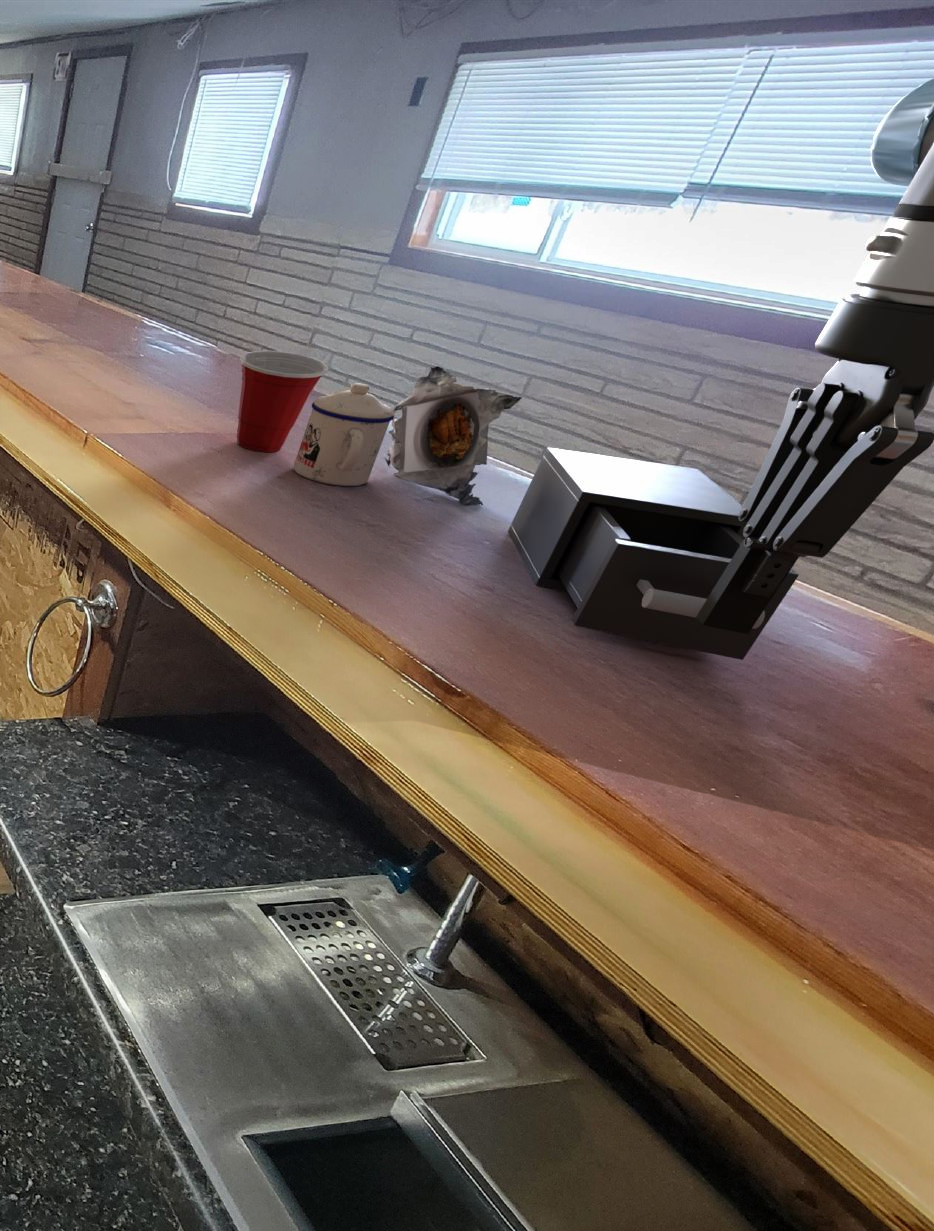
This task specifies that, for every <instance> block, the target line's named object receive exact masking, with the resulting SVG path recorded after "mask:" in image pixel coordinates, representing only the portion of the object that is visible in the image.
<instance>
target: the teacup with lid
mask: <svg viewBox="0 0 934 1231" xmlns="http://www.w3.org/2000/svg"><path fill="white" fill-rule="evenodd" d="M369 391H370V385H368V384H365V383H360V382H355V383H353V384H351V386H350V389H349V390H341V391H339V392H336V393H333V394H330V395H329V394H327V395H322V396H319V397H316V398H315V400H313V402H312V403H311V408H312V409H311V413H310V415H309V418H308V422H307V425H306V428H305V430H304V434H303V437H302V439H301V443H300V446H299V449H298V452H297V456H296V458H295V461H294V463H293V464H294V465H293V470H294V471H295V473H297V474H298V475H299V476H301V477H303V478H306V479H307V480H311V481H314V482H317V483H321V484H325V485H332V486H339V487H358V486H362V485H364V484H366V483H367V482H368V481H369V478H370V476H371V473H372V470H373V468H374V465H375V462H376V459H377V457H378V454H379V452H380V449H381V446H382V444H383V442H384V439H385V436H386V433H387V430H388V428H389V425H390V423H391V422H392V420H393V418H394V419H395V417H394V412H393V410H394V409H393V408H392V407H390V406H389V405H388V404H385V403H382V402H381V401H380V400H379V398H377V397H376V396H375V395H373V394H371V393H369Z"/></svg>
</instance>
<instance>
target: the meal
mask: <svg viewBox="0 0 934 1231" xmlns="http://www.w3.org/2000/svg"><path fill="white" fill-rule="evenodd" d="M457 382H458V380H457V376H456V375H453V374H451V373H450V372H449V371H446V369H445V368H443V367H441V366H439V365H438V366H431V367H430V370H429V373H428V375H427V376H420V377H419V378H418V379H417V381H416V383H415V384H414V389H413V391H412V393H411V394H410V395H409V396H408V397H407V398H404V399H402V400H401V401H400V402H399V403H398V404H396V405H395V406H394V408H393V409H392V410H393V412H394V418H393V420H391V427H392V429H391V430H388V434H389V435H390V439H391V440H392V443H391V444H390V446H389V449H388V451H387V453H386V447H384V449H383V458H384V460H385V462H386V464H387V466H388V468H394V469H396V471H397V472H394V473H393V476H396V477H398V478H400V479H402V480H405V481H407V482H410V483H412V484H415V485H419V486H421V487H425V488H427V487H428V488H431V489H436V490H438V491H441V492H443V493H444V494H445V495H447V496H450V497H452V498H455V499H457V500H458V503H459V505H462V506H477V505H480V504H481V505H480V506H484V504H483V502H482V501H481V499H480V497H478V496H474V494H473V492H472V491H473V489H474V488H475V486H476V485H477V484H476V483H472V484H470V483H471V482H472V481H473V480H474V479H475V478H476V477H477V476H478V474H479V473H480V471H478V472H477V471H475V467H476V466H481V465H488V446H489V445H488V444H489V436H488V435H489V431H490V430H489V426H490V424H491V423H492V422H493V421H495V420H497V419H500V417H501V414H502V413H503V412H505V410H511V409H512V408H513V407H514V406H515V405H516V404H517V403H519V402H520V401H521V400H522V398H523V396H516V395H511V394H507V393H503V392H499V391H497V390H496V389H492V388H475V387H474V386H467V385H461V384H459V383H457ZM396 411H401V417H400V418H398V419H396V420H395V418H396V417H395V413H397V412H396ZM386 455H387V456H388V458H386V457H385V456H386Z"/></svg>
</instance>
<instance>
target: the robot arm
mask: <svg viewBox="0 0 934 1231" xmlns="http://www.w3.org/2000/svg"><path fill="white" fill-rule="evenodd" d="M869 156H870V164H871V167H872V170H873V171H874V173H875V174H876V175H877V177H879V178H880V179H881V180H883V181H884V182H886V183H888V184H892V185H896V186H901V187H907V188H906V191H905V192H904V194H903V196H902V197H901V199H900V201H899V203H898V205H897V206H896V207H895V209H894V211H893V213H892V215H891V217H890V218H889V220H888V222H887V223H886V225H885V227H884V228H883V231H882V232H881V233H880V235H873V236H871V237H870V238H868V239H867V242H866V244H865V247H864V248H865V250H866V252H867V251H868V252H869V254H868V255H867V257H866V259H865V261H864V262H863V263H862V265H861V267H860V269H859V270H858V272H857V274H856V276H855V278H853V281H854V283H855V284H856V286H859V287H862V289H861V292H860V293H852V294H848V295H847V296H846V298H841V299H840V301H839V302H838V304H837V305H836V307H835V309H834V311H833V313H832V314H831V316H830V317H829V319H828V321H827V323H826V324H825V326H824V328H823V330H822V331H821V333H819V336H818V338H817V339H816V341H815V343H814V348H815V350H816V351H817V352H818V353H820V354H822V355H823V356H827V357H830V358H834V359H837V361H836V363H835V364H834V365H833V366H832V367H831V368H830V369H829V370H828V371H827V372H826V373H825V375H824V377H823V378H822V380H821V383H819V384H818V385H817V386H816V387H815V388H807V387H799V386H798V387H796V388H795V389H794V390H793V391H792V392H791V393H790V395H789V398H788V401H787V405H786V408H785V412H784V415H783V418H782V422H781V424H780V426H779V428H778V430H777V433H776V434H775V436H774V439H773V441H772V443H771V445H770V447H769V450H768V452H767V454H766V455H765V458H764V460H763V462H762V465H761V467H760V469H759V471H758V473H757V474H756V477H755V480H754V482H753V483H752V486H751V488H750V490H749V492H748V494H747V496H746V499H745V501H744V503H743V504H742V505H743V507H742V509H741V511H740V513H739V516H738V519H739V521H742V522H748V523H747V525H746V526H745V528H744V531H743V536H744V537H746V538H745V540H743V542H742V544H741V545H740V547H739V548H738V550H737V552H736V553H735V555H734V556H733V558H732V560H731V561H730V563H729V565H728V566H727V568H726V569H725V571H724V573H723V574H722V576H721V577H720V579H719V581H718V582H717V584H716V585H715V587H714V589H713V590H712V592H711V594H710V595H709V597H708V598H707V600H706V602H705V603H704V605H703V606H702V608H701V610H700V611H699V613H698V615H697V616H696V618H697V619H698V620H699V622H700V623H701V624H702V625H704V626H709V627H714V628H719V629H724V630H729V631H734V632H739V633H744V634H749V632H750V631H751V629H752V628H753V626H754V625H755V623H756V621H757V620H758V618H759V617H760V615H761V614H762V612H763V611H764V609H765V608H766V606H767V605H768V603H769V602H770V600H771V599H772V597H773V596H774V594H775V593H776V591H777V590H778V588H779V587H780V585H781V584H782V582H783V581H784V579H785V578H786V576H787V575H788V573H789V571H790V570H791V569H793V567H794V565H795V564H796V563H797V561H798V560H799V558H800V557H801V558H805V557H813V558H819V559H820V558H821V559H822V558H824V557H826V556H827V555H828V554H829V553H830V551H831V550H832V549H834V547H835V546H836V545H837V544H838V543H839V541H841V539H842V538H843V537H844V535H846V534H847V532H848V531H849V530H850V529H851V528H852V527H853V525H854V524H855V523H856V522H858V520H859V519H860V518H861V516H862V515H863V514H864V513H865V512H866V511H867V510H868V508H869V507H870V506H871V505H872V504H873V503H874V502H875V500H876V499H877V498H878V497H879V496H881V494H882V493H883V491H884V490H885V489H886V488H887V487H888V486H889V485H890V483H891V482H892V481H893V480H894V479H895V478H896V476H897V475H899V473H900V472H901V471H902V470H903V469H904V467H906V466H907V465H908V464H910V463H911V462H912V461H913V460H915V459H916V458H918V457H919V456H920V455H921V454H923V453H924V452H926V450H928V449H929V448H930V447H931V446H932V445H933V443H934V432H932V431H926V430H919V429H916V423H915V422H916V419H917V418H918V416H919V415H920V413H921V412H922V411H923V410H924V408H925V407H926V406H927V404H928V403H929V399H930V396H931V393H932V391H933V388H934V78H932V79H929V80H928V81H926V82H924V83H922V84H920V85H919V86H917V87H915V88H913V89H912V90H911V91H909V92H907V93H906V94H905V95H904V96H903V97H902V98H901V99H899V100H898V101H897V102H896V103H895V104H894V105H893V106H892V108H891V109H890V110H889V111H888V112H887V113H886V114H885V116H884V118H882V120H881V122H880V123H879V125H878V127H877V128H876V131H875V133H874V136H873V139H872V144H871V147H870V155H869Z"/></svg>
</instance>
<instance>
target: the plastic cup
mask: <svg viewBox="0 0 934 1231" xmlns="http://www.w3.org/2000/svg"><path fill="white" fill-rule="evenodd" d="M239 361H240V362H241V373H242V374H241V388H240V397H239V406H238V416H237V419H238V421H237V422H238V423H237V428H236V429H237V430H236V444H237V445H238V446H240V447H241V448H244V449H247V448H248V450H251V451H255V450H258V451H257V452H261V451H262V452H263V453H276V452H280V450H281V449H282V447H283V446H284V444H285V442H286V440H287V438H288V437H289V434H290V432H291V431H292V429H293V428H294V426H295V424H296V422H297V420H298V418H299V417H300V415H301V412H302V410H303V409H304V407H305V404H306V403H307V401H308V399H309V397H310V395H311V394H312V392H313V390H314V389H315V387H316V385H317V384H318V382H319V380H320V379H321V378H322V377H323V376H325V375H326V373H327V371H328V370H329V366H328V365H327V364H326V362H323V361H321V360H320V359H317V358H314V357H311V356H309V355H303V354H301V353H300V354H299V353H294V352H289V351H282V350H281V351H280V350H252V351H248V352H245V353H243V354H241V356H240V358H239Z"/></svg>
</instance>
